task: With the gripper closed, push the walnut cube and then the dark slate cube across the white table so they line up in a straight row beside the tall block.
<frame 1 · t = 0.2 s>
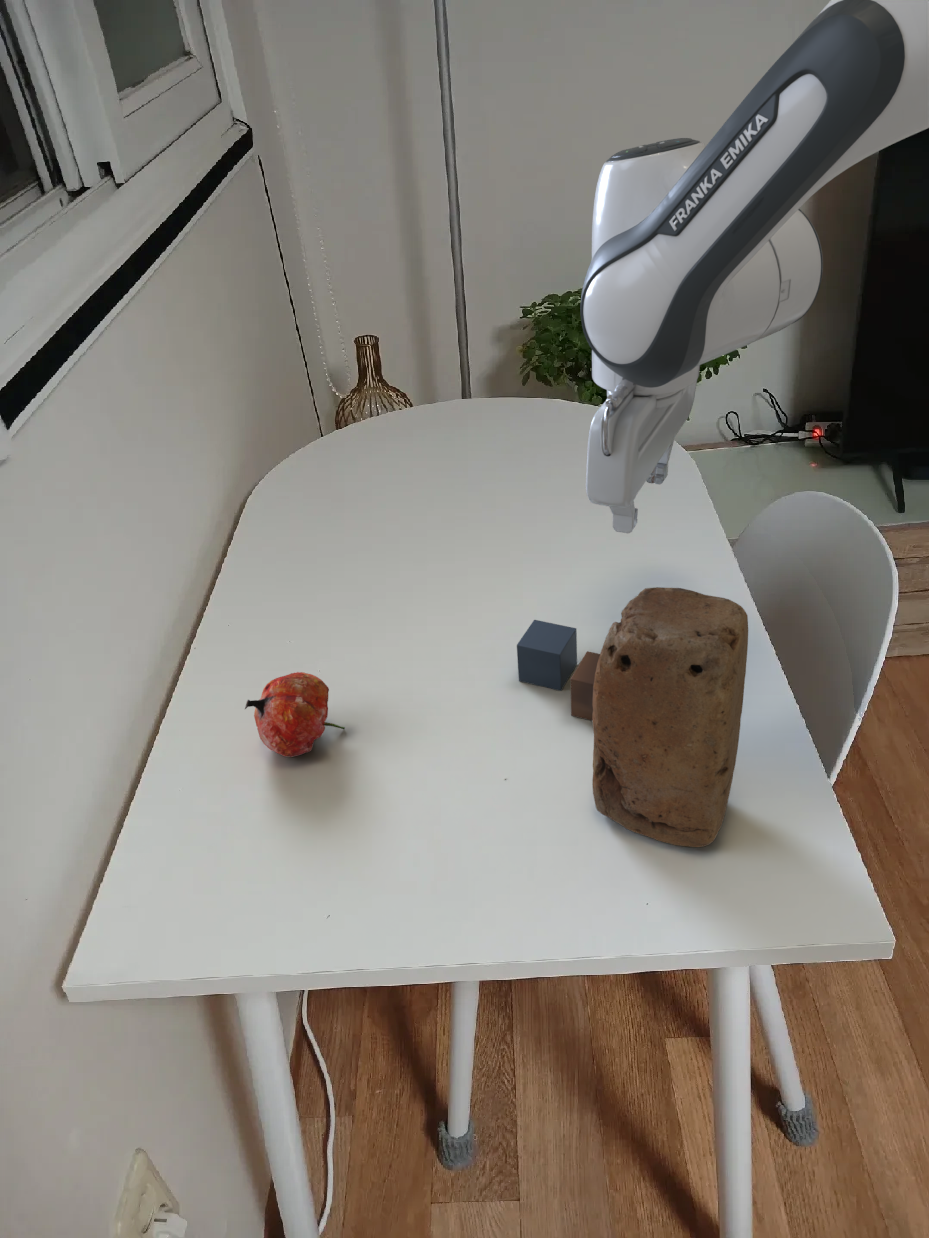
hand: (641, 503, 87), 16 cm above the table, tool pointing down, fingers open, 8 cm apart
walnut cube: (601, 706, 88), on the table
slate cube: (548, 672, 93), on the table
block: (659, 813, 77), on the table
pomegranate: (303, 742, 88), on the table
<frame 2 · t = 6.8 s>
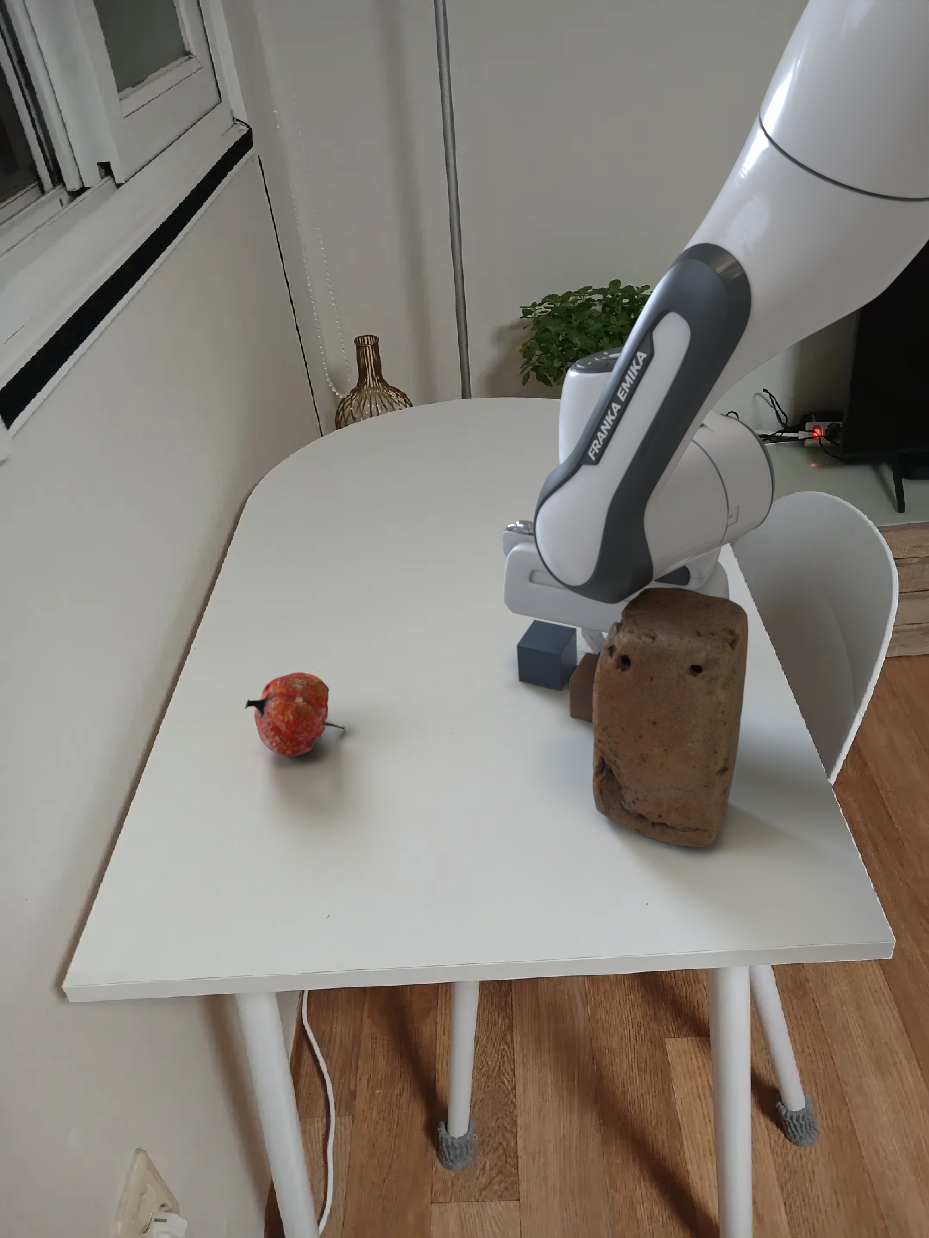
hand: (611, 663, 89), 3 cm above the table, tool pointing down, fingers closed, pressing on walnut cube
walnut cube: (600, 707, 88), on the table, touching gripper
everything else where it was.
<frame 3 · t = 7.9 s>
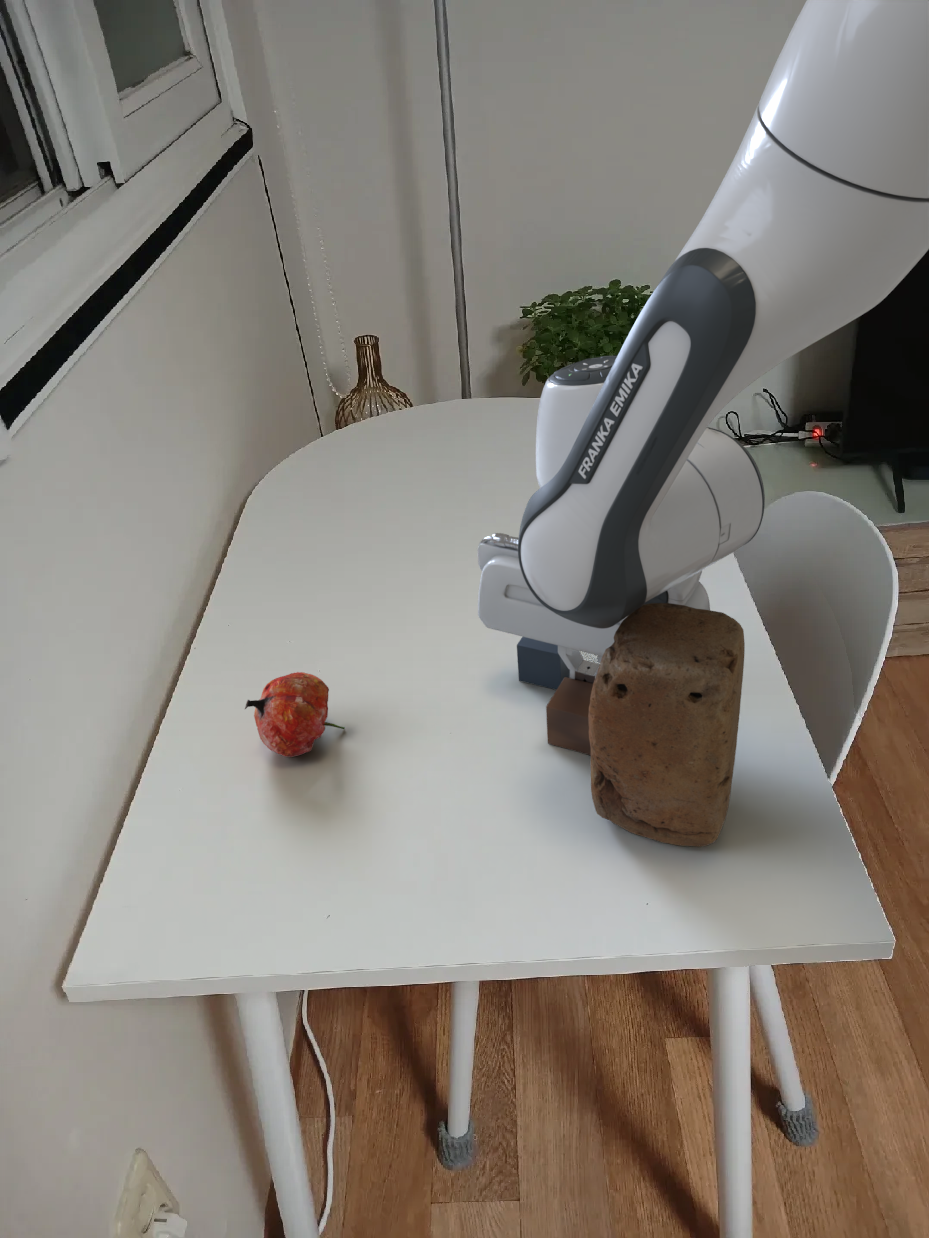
hand: (588, 683, 86), 4 cm above the table, tool pointing down, fingers closed, pressing on walnut cube
walnut cube: (579, 734, 86), on the table, touching gripper
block: (658, 809, 77), on the table, touching arm
everything else where it was.
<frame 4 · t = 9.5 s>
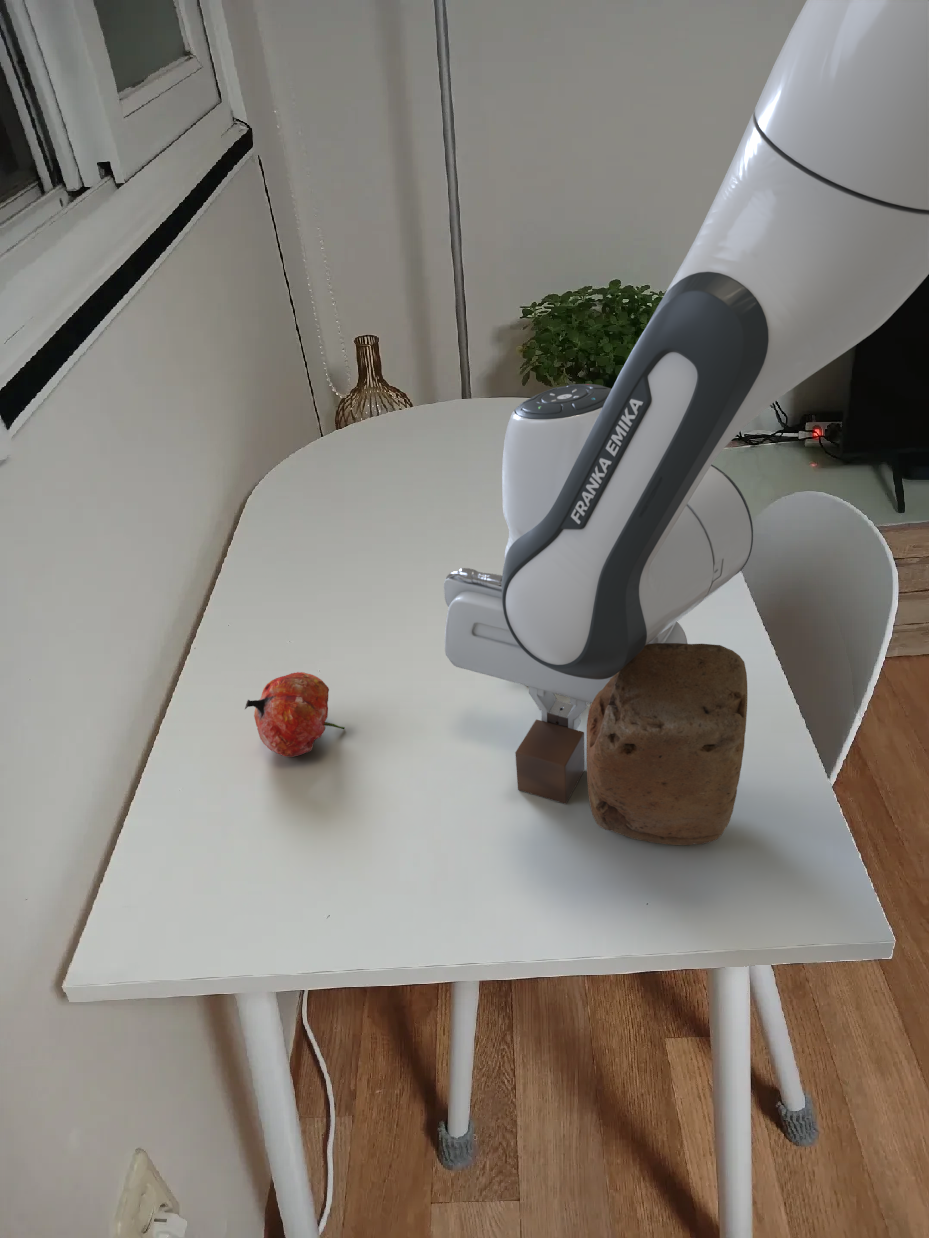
hand: (561, 724, 81), 4 cm above the table, tool pointing down, fingers closed, pressing on walnut cube
walnut cube: (551, 779, 81), on the table, touching gripper
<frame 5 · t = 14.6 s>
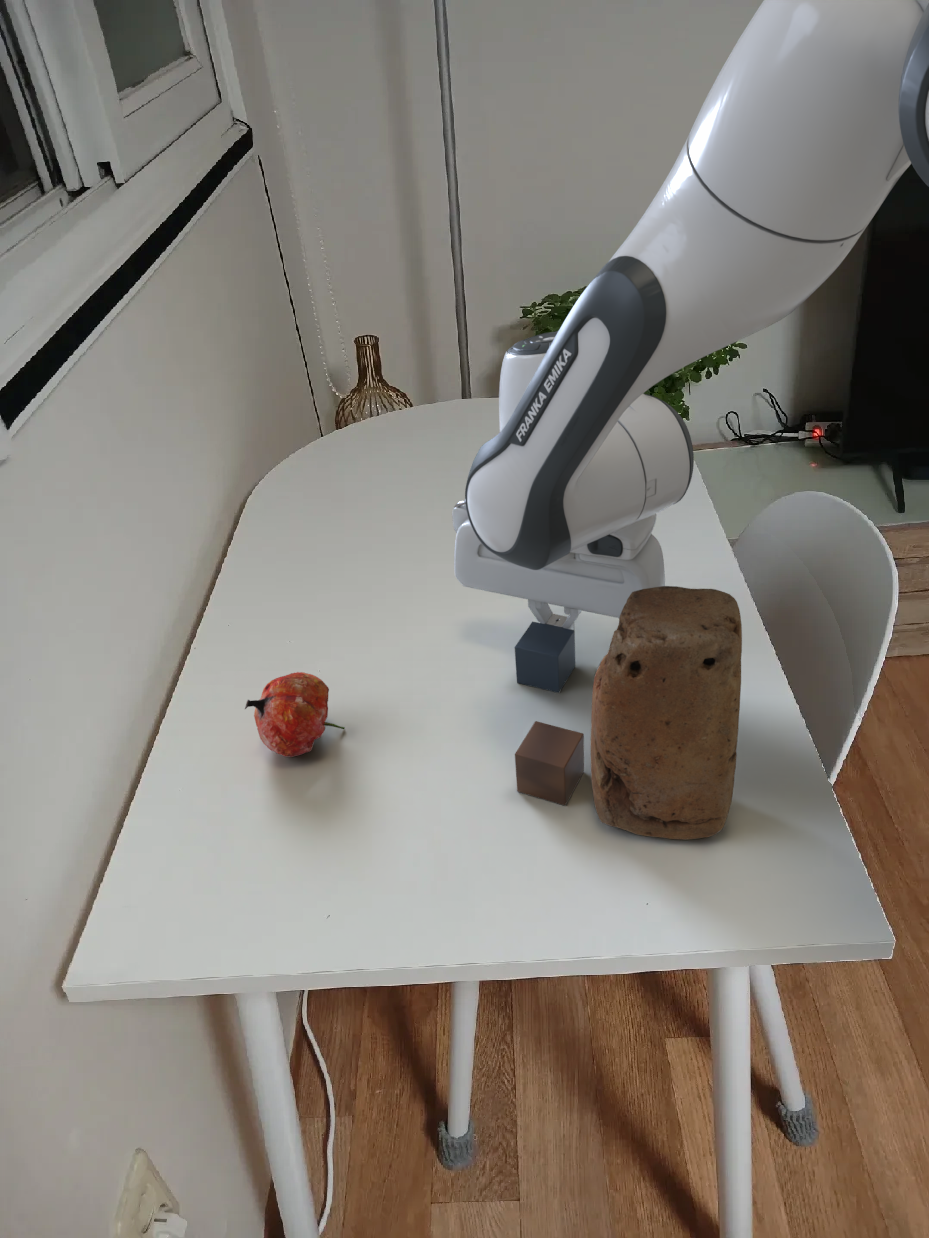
hand: (557, 634, 93), 3 cm above the table, tool pointing down, fingers closed
walnut cube: (551, 781, 81), on the table
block: (657, 812, 78), on the table
everything else where it was.
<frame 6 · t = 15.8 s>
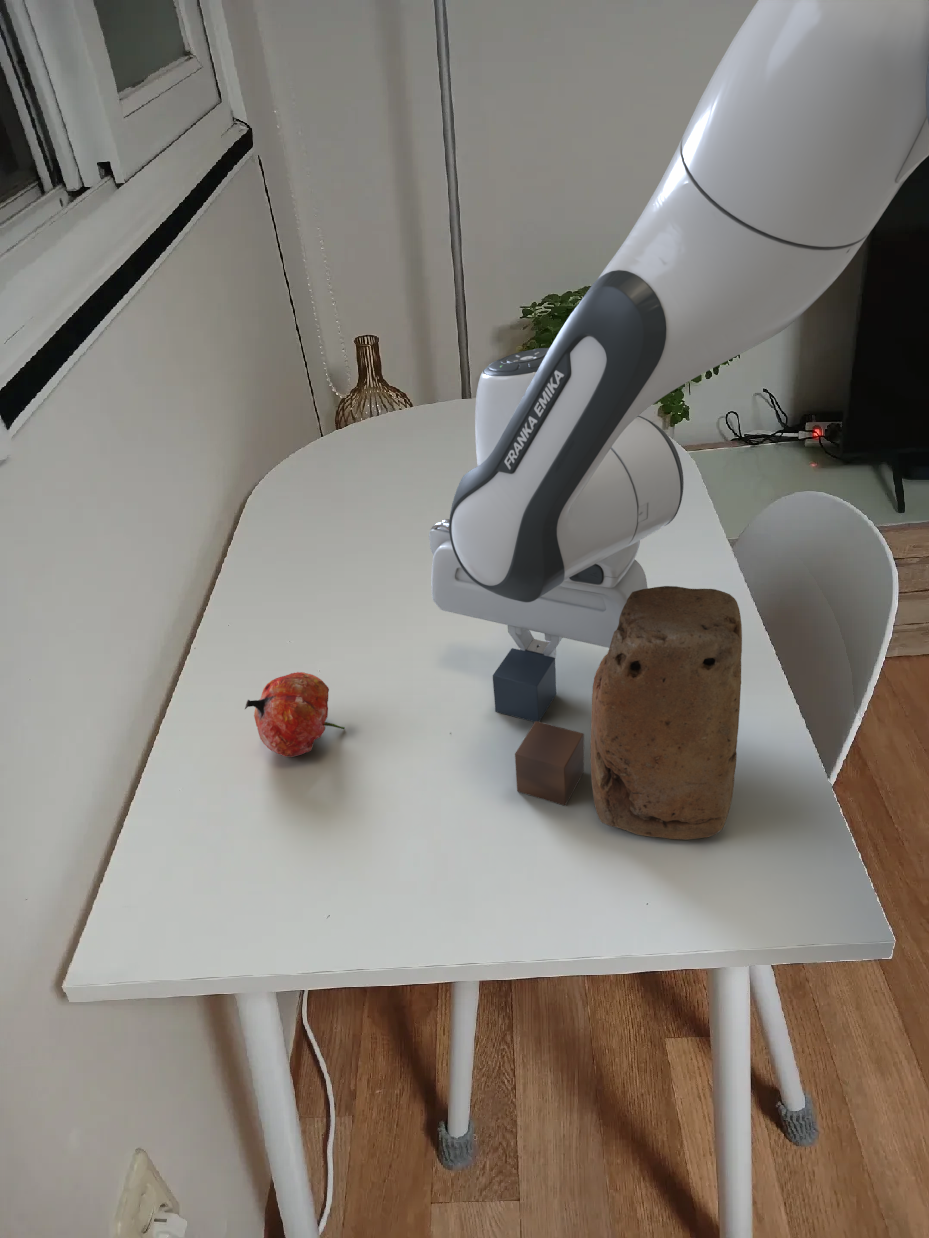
hand: (538, 660, 90), 3 cm above the table, tool pointing down, fingers closed
slate cube: (526, 702, 90), on the table
everything else where it was.
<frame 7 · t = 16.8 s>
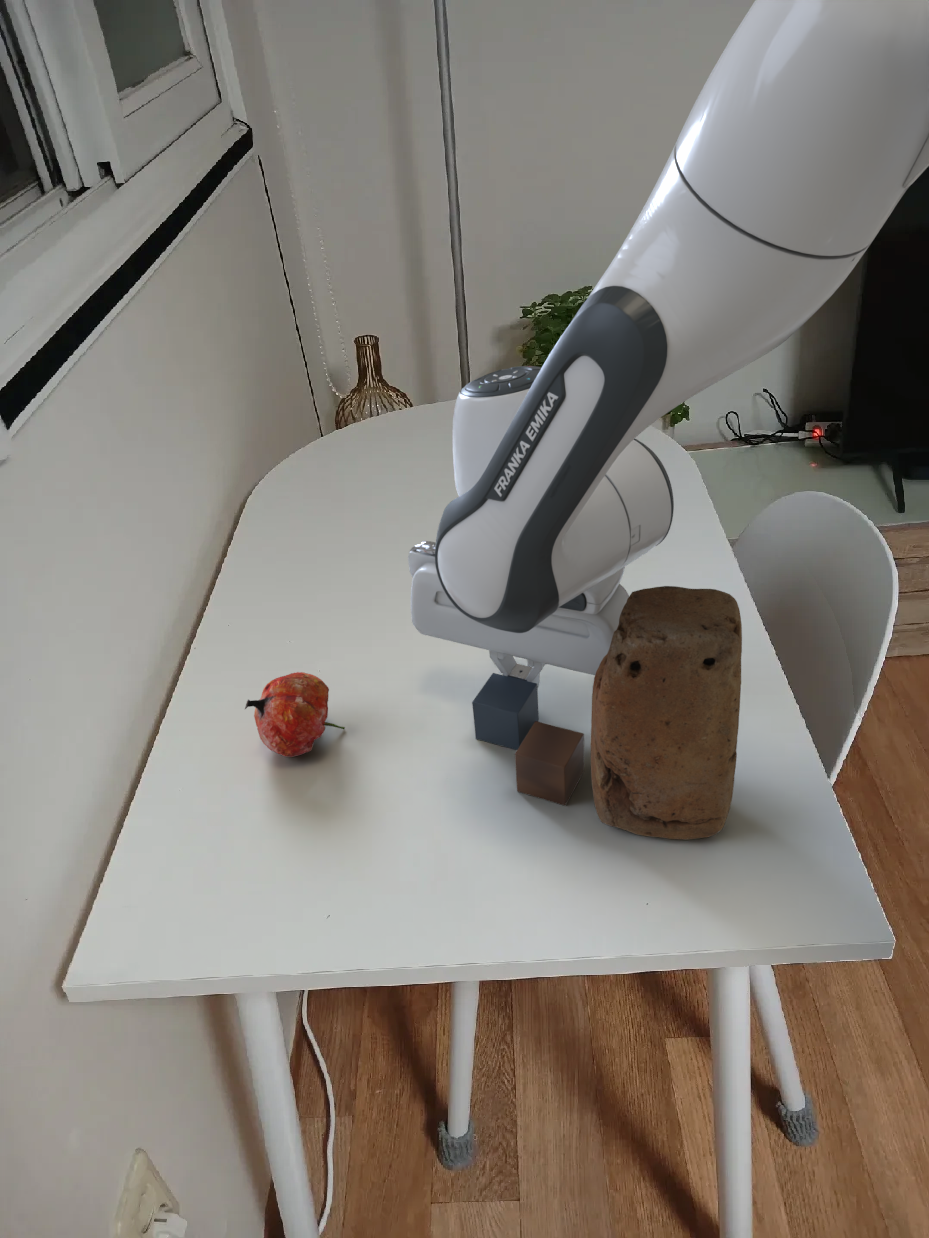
hand: (521, 686, 87), 3 cm above the table, tool pointing down, fingers closed, pressing on slate cube
slate cube: (507, 729, 87), on the table, touching gripper
everything else where it was.
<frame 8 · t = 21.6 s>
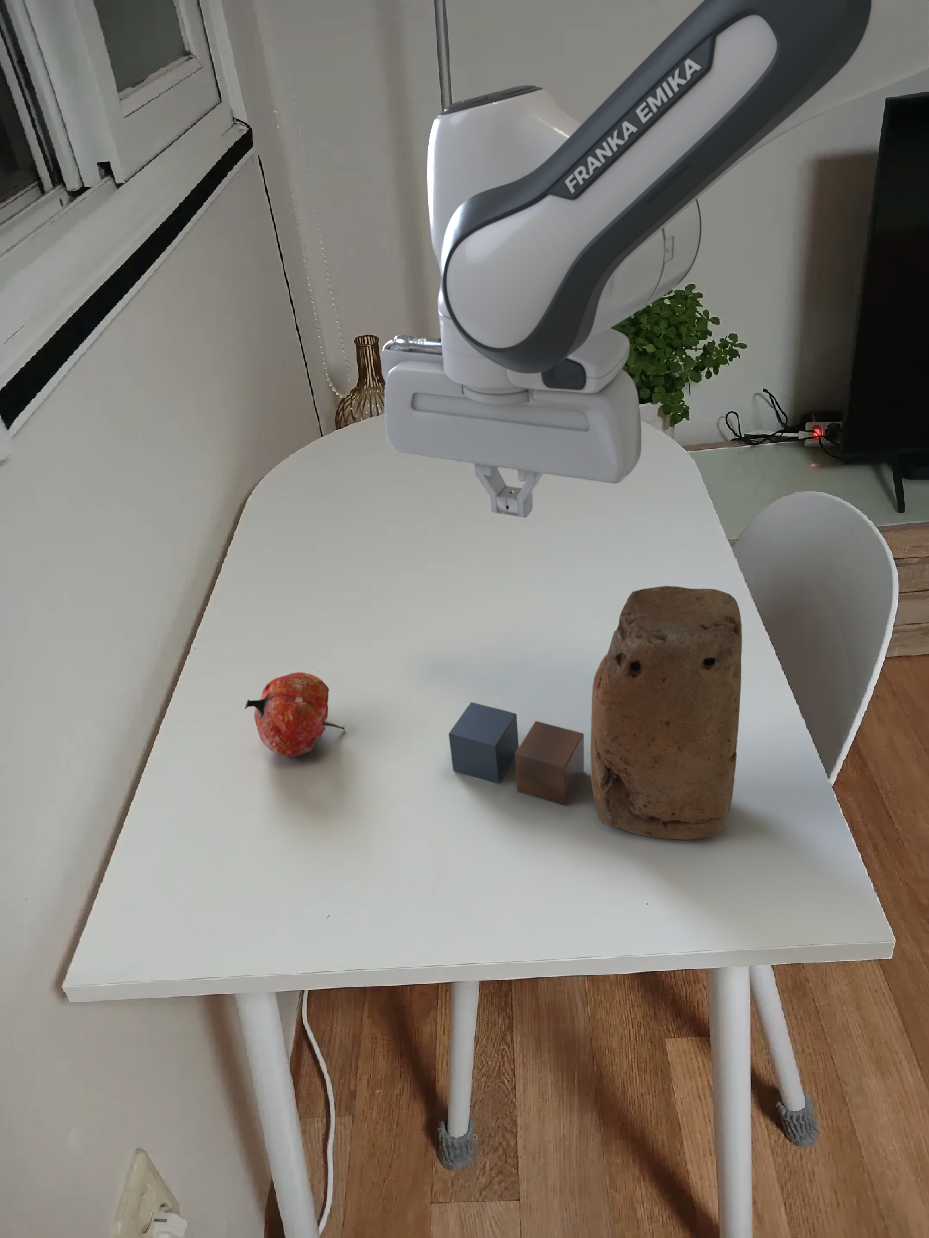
hand: (512, 512, 77), 21 cm above the table, tool pointing down, fingers closed
slate cube: (486, 760, 84), on the table
everything else where it was.
at the end: walnut cube 0.6 cm from the target spot, on the table; slate cube 0.3 cm from the target spot, on the table; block moved 0.3 cm from its start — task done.
